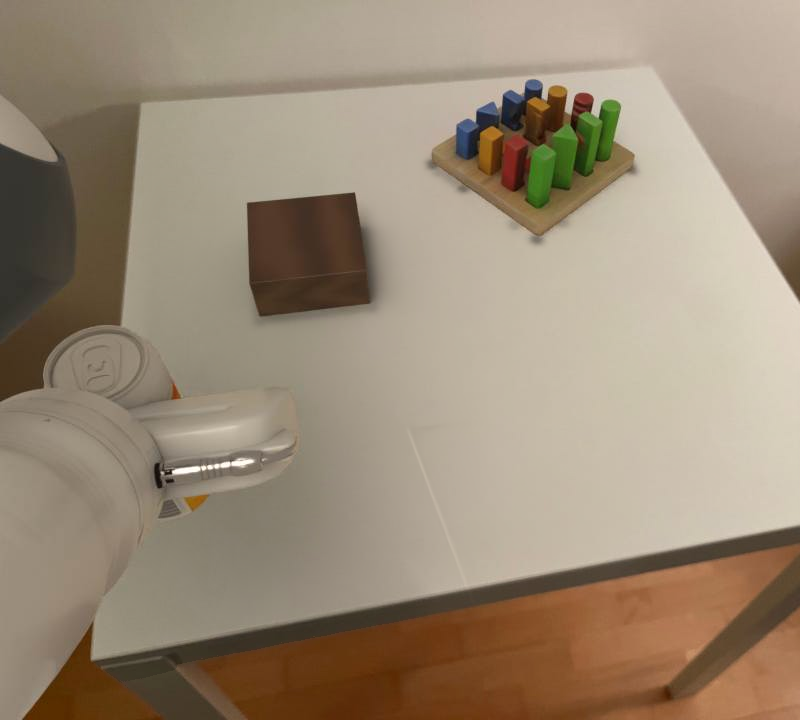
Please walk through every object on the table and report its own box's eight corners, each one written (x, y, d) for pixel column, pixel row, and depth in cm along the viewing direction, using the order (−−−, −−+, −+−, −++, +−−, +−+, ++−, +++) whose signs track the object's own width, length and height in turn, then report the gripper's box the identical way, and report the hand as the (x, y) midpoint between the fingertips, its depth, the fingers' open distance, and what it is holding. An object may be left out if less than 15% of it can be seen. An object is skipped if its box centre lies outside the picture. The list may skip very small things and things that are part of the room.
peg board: (527, 100, 95) (535, 38, 88) (634, 166, 89) (651, 106, 82) (429, 160, 88) (429, 98, 81) (538, 238, 81) (548, 178, 74)
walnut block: (259, 316, 73) (249, 283, 69) (256, 237, 79) (246, 202, 75) (370, 303, 75) (367, 270, 71) (359, 226, 81) (355, 192, 77)
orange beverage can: (210, 437, 54) (148, 308, 42) (225, 510, 51) (162, 393, 39) (123, 461, 52) (32, 335, 40) (133, 538, 49) (37, 426, 37)
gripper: (284, 391, 33) (300, 345, 46) (-236, 459, 30) (-57, 388, 43) (304, 523, 34) (314, 441, 47) (-195, 603, 31) (-32, 490, 44)
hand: (135, 416), depth 45 cm, fingers closed on orange beverage can, 6 cm apart
